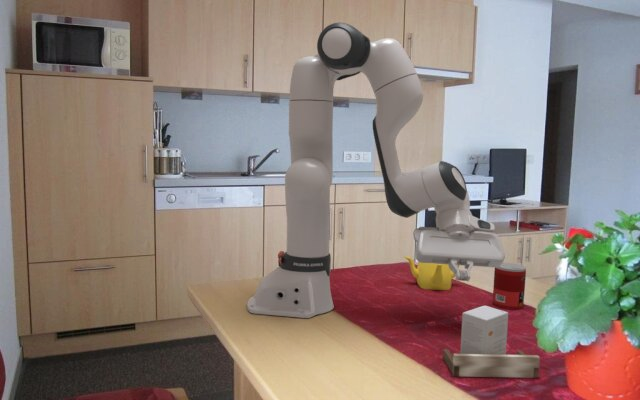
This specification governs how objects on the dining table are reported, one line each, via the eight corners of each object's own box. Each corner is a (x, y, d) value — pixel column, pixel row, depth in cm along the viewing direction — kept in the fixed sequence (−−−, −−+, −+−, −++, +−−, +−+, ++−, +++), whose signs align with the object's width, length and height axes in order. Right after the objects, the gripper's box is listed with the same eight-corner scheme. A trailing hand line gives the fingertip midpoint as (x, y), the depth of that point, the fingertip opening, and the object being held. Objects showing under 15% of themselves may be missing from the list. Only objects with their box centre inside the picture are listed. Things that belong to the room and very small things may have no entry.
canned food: (525, 311, 137) (528, 270, 136) (494, 308, 139) (496, 268, 138) (520, 302, 145) (523, 263, 144) (490, 300, 146) (493, 261, 145)
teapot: (427, 276, 171) (428, 247, 170) (465, 286, 160) (467, 255, 159) (400, 284, 161) (401, 253, 159) (439, 294, 150) (440, 262, 149)
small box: (481, 353, 108) (484, 304, 107) (505, 362, 104) (509, 311, 103) (458, 363, 103) (461, 311, 102) (483, 373, 99) (486, 319, 98)
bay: (453, 376, 97) (454, 355, 97) (443, 358, 105) (444, 339, 105) (538, 377, 97) (539, 357, 97) (521, 360, 105) (522, 341, 105)
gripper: (415, 218, 123) (420, 269, 114) (501, 224, 123) (512, 275, 115) (410, 233, 128) (414, 283, 119) (492, 239, 128) (502, 289, 120)
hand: (463, 279), depth 117 cm, fingers closed
